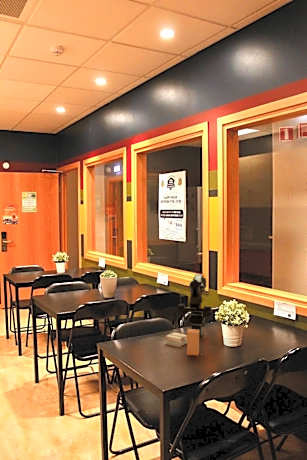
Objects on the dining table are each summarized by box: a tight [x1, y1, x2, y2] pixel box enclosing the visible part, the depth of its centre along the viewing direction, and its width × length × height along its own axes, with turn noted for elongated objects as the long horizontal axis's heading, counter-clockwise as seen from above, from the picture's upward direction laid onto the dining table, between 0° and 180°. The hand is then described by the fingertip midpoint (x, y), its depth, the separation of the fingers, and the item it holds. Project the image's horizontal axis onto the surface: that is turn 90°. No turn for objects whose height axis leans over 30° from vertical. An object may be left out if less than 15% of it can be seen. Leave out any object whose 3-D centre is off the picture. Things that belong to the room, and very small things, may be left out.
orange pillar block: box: [186, 328, 200, 356], centre depth 223 cm, size 6×6×12 cm
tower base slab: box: [165, 339, 187, 348], centre depth 240 cm, size 9×9×2 cm
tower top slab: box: [165, 332, 187, 343], centre depth 239 cm, size 9×9×2 cm
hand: (193, 323), depth 230 cm, fingers open, 9 cm apart
